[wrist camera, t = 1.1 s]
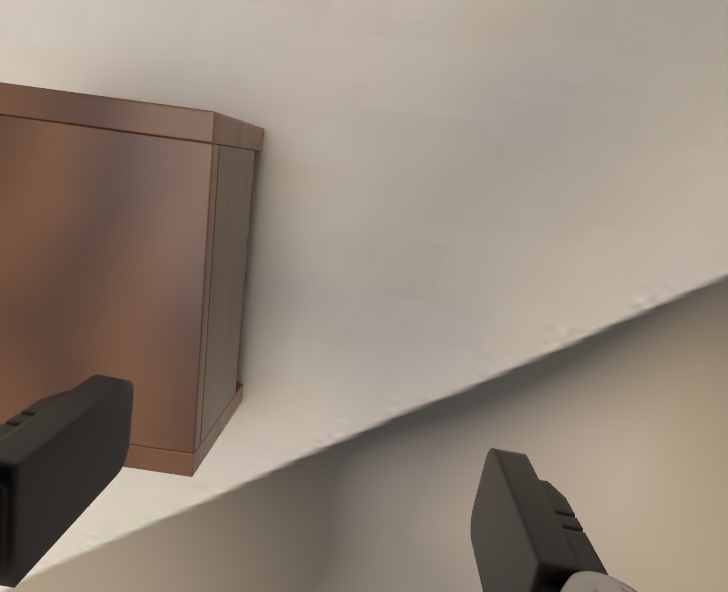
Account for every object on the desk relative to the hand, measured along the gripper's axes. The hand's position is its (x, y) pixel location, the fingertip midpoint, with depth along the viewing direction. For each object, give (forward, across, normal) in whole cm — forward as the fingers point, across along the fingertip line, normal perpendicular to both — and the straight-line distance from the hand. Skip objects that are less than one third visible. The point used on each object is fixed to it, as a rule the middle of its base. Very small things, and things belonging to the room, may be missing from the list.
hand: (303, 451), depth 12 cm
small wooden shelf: (+18, +11, +1) cm, 21 cm away
